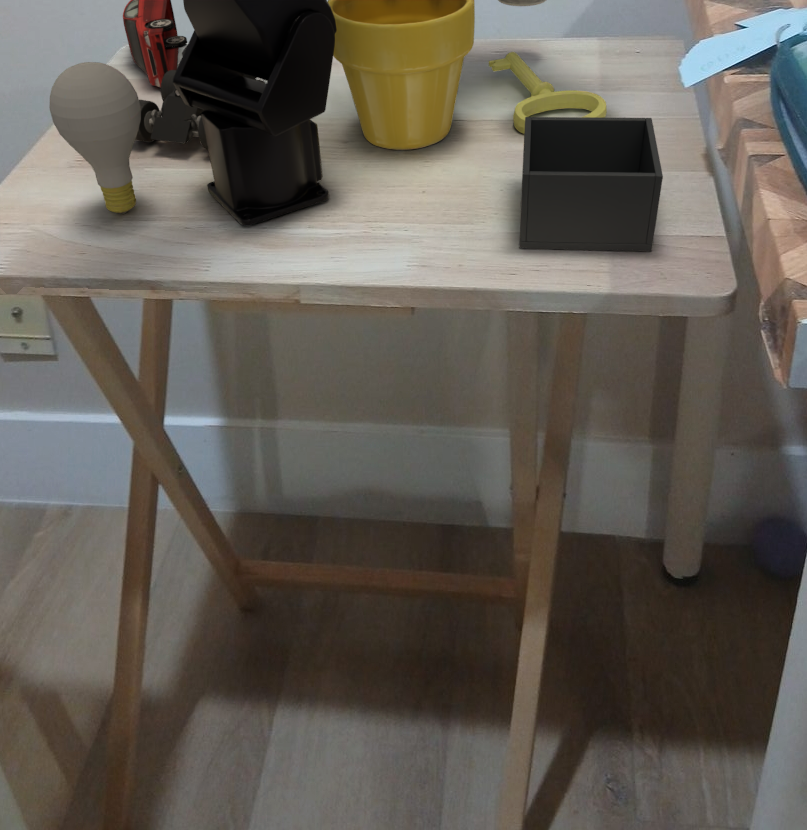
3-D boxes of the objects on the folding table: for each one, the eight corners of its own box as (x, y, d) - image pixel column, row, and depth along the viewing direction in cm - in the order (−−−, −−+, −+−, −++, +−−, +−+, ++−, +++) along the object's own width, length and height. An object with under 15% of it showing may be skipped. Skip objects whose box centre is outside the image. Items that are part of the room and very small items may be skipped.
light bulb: (173, 192, 65) (140, 48, 59) (150, 232, 61) (111, 81, 54) (99, 192, 66) (58, 48, 59) (70, 231, 62) (23, 82, 55)
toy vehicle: (307, 84, 78) (295, -27, 73) (218, 161, 68) (195, 39, 62) (222, 74, 81) (204, -34, 75) (124, 148, 70) (94, 29, 65)
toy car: (178, -31, 87) (124, -26, 86) (171, 34, 76) (110, 40, 76) (191, 28, 91) (139, 34, 90) (186, 98, 80) (127, 104, 80)
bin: (519, 248, 57) (522, 174, 54) (522, 187, 63) (525, 116, 60) (651, 251, 57) (663, 175, 53) (642, 189, 62) (651, 117, 59)
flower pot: (355, 172, 66) (343, 32, 60) (325, 116, 74) (311, -14, 67) (492, 149, 68) (495, 10, 62) (450, 96, 76) (448, -32, 69)
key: (511, 73, 78) (512, 48, 77) (618, 120, 71) (621, 92, 69) (444, 97, 75) (443, 71, 74) (548, 148, 68) (550, 120, 66)
